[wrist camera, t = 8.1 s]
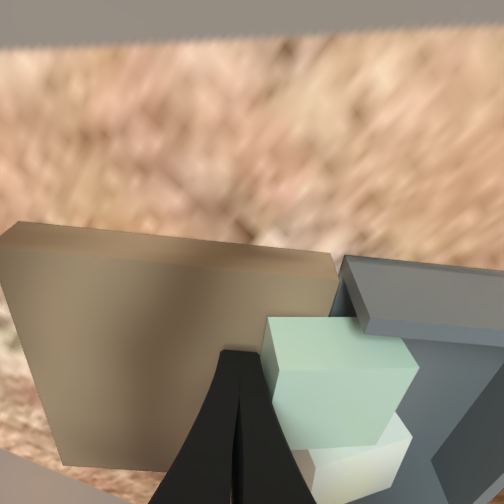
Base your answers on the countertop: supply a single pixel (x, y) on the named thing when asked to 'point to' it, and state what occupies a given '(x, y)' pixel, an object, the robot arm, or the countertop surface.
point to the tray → (438, 372)
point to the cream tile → (354, 466)
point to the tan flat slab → (142, 329)
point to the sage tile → (333, 380)
